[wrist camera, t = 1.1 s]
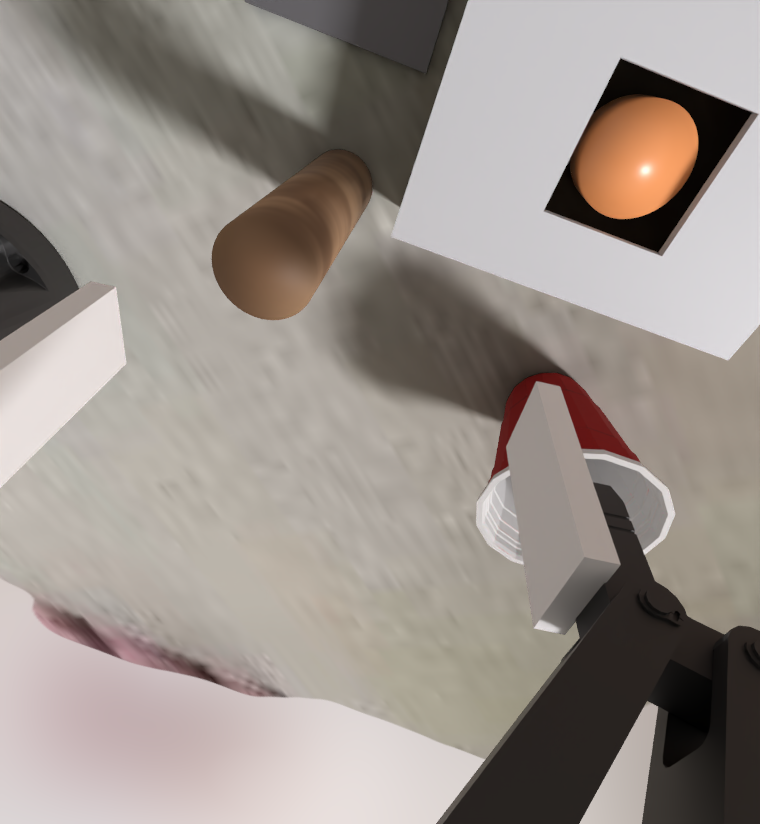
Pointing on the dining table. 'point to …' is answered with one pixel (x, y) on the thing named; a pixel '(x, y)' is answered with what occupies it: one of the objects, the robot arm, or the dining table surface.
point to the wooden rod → (291, 236)
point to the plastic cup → (604, 463)
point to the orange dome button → (634, 155)
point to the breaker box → (554, 144)
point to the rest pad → (371, 24)
